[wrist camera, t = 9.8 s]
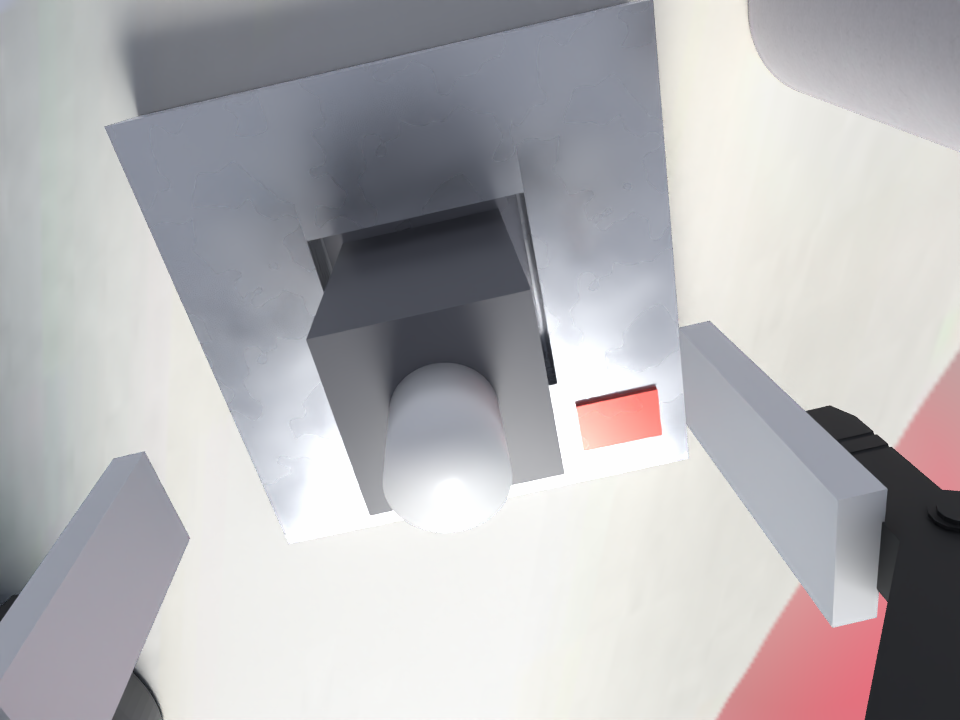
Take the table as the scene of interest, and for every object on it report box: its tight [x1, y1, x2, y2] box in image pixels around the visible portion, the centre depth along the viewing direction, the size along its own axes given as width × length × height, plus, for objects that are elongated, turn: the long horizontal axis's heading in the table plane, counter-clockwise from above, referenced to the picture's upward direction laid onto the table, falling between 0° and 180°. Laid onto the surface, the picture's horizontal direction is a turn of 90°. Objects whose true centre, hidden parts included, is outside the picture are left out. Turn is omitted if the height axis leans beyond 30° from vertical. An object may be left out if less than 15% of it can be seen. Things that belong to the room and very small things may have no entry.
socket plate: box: [105, 0, 689, 544], centre depth 24 cm, size 16×16×3 cm
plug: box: [306, 209, 565, 533], centre depth 19 cm, size 6×6×11 cm
